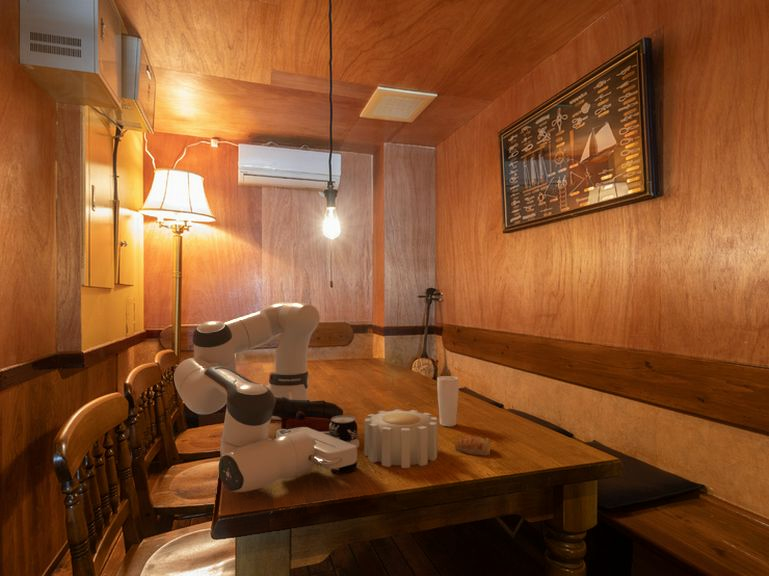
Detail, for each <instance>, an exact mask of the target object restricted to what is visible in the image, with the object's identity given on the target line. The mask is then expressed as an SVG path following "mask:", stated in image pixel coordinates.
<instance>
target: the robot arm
mask: <svg viewBox="0 0 769 576" xmlns="http://www.w3.org/2000/svg"><path fill="white" fill-rule="evenodd" d="M320 317H321V316H320V311H319V310H318V309H317V308H316V307H315V306H314V305H313V304H310V303H308V302H302V301H278V302H275V303H273V304H270V305H269V306H266V307H264V308H262V309H260V310H258V311H255V312H252V313H249V314H245V315H242V316H240V317H237V318H234V319H231V320H227V321H225V322H222V321H219V320H213V321H212V320H211V321H206V322H203V323H201V324H199V325H198V326H197V327H196V328H195V329H194V330H193V332H192V344H193V355H194V356H193V357H188V358H187V359H183V360H182V361H181V362H180V363H179V364H178V365H177V366H176V368H175V370H174V373H173V380H174V381H173V382H174V385H175V388H176V391H177V393H178V395H179V397H180V398H181V401H182V402H183V403H184V404H185V406H186V407H187V408H188V409H189V410H190V411H192V412H193V413H195V414H197V415H209V414H213V413H216V412H218V411H220V410H221V409H222V408H223V407H225V405H226V408H225V415H224V423H223V427H222V433H221V440H220V446H219V447H220V448H219V452H220V453H219V455H220V459H219V462H218V474H219V478H220V481H221V482H222V485H223V486H224V487H225V488H226V489H227V490H228V491H230V492H232V493H243V492H244V493H245V492H251V491H254V490H258V489H262V488H264V487H267V486H271V485H273V484H275V483H276V482H278V481H279V480H284V479H285V480H287V479H291V478H293V477H296V476H300V475H303V474H306V473H308V472H310V471H311V470H312V469H313V468H314V466H315V464H316V465H318V466H320V467H323V468H325V469H328V470H331V469H335V468H340V467H344V466H348V465H351V464H354V463H355V462H356V461H357V462H358V448H359V447H360V440H359V439H358V438H357V439H355V438H353V439H350V440H349V443H348V442H345V441H342V440H340V439H337V438H334V437H332V436H329V432H318V431H316V430H313V429H310V428H308V427H299V428H293V429H288V430H286V429H281V428H280V429H278V430H276V433H275V434H276V436H275V437H276V438H273V439H271V437H269V432H270V426H271V421H272V420H277V421H278V420H279V421H281V418H279V417H277V416H272V414H273V411H274V407H275V403H276V399H275V397H276V398H283V397H285V398H287V399H290V400H309V401H310V399H309V391H308V388H309V372H308V350H309V346H310V345H309V344H310V340H311V337H312V334H313V333H314V331H315V330H316V329H317V328H318V326H319V323H320V319H321V318H320ZM279 335H282V336H281V339H280V342H279V345H278V346H277V347H276V349H275V350H274V351H275V352H274V371H271V372H270V373H269V375H268V383H267V385H264V384H263V383H262V384H261V383H258V382H255V381H253V380H251V379H249V378H247V377H246V376H244V375H243V374H241V373H239V372H238V371H237V356H236V355H238V354H241V353H245V352H247V351H250V350H253V349H255V348H258V347H260V346H264V345H265V344H268V343H269V342H271V340H272V339H274V338H276V337H277V336H279Z"/></svg>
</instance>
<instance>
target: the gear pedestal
mask: <svg viewBox="0 0 769 576" xmlns="http://www.w3.org/2000/svg"><path fill="white" fill-rule="evenodd" d="M438 429H439V427H438V418H437V416H432V413H429V412H423V413H421V412H419V411H418V410H413V409H411V410H408V411H407V410H406V411H405V410H401V409H393V410H391V411H389V410H388V411H386V410H379V411H377V414H373V413H370V414H368V415H366V418H364V456H365V457H366V456H367V457H368V459H367V460H368V461H369V462H371V463H377V462H378V463H381V466H382V467H387V468H390V467H391V466H400V467H401V469H407V468H409V469H410V468H411V466H414V465H418V466H420V467H423V466H426V465H428V461H434V462H435V461H436V460H437V458H438V450H439V449H438V444H439V443H438V438H439V436H438V431H439V430H438Z"/></svg>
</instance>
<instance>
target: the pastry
mask: <svg viewBox="0 0 769 576" xmlns="http://www.w3.org/2000/svg"><path fill="white" fill-rule="evenodd" d="M454 449H455V450H456V451H457V452H460V453H464V454H468V455H476V456H485V457H487V456H489V455H491V453H490V452H491V445H490V439H489V438H488V437H485V438H482V437H477V436H476V437H475V436H474V437H469V438H464V439H460V440H457V441H456V442H455V444H454Z"/></svg>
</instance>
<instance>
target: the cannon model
mask: <svg viewBox="0 0 769 576" xmlns="http://www.w3.org/2000/svg"><path fill="white" fill-rule="evenodd" d="M275 399H276V403H275V407H274V411H273V414H272V416H277V417H279V418H281V420H280V429H286V430H288V429H293V428H299V427H308V428H310V429H313V430H316V431H318V432H329V428H330V423H331V421H332V420H331V419H332V418H333V417H335V416H340V415H344V410H343V408H341V407H340V406H338V405H337V404H336V403H332V402H327V401H325V399H324V400H311V401H310V399H309V400H290V399H287V398H285V397H283V398H276V397H275Z"/></svg>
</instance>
